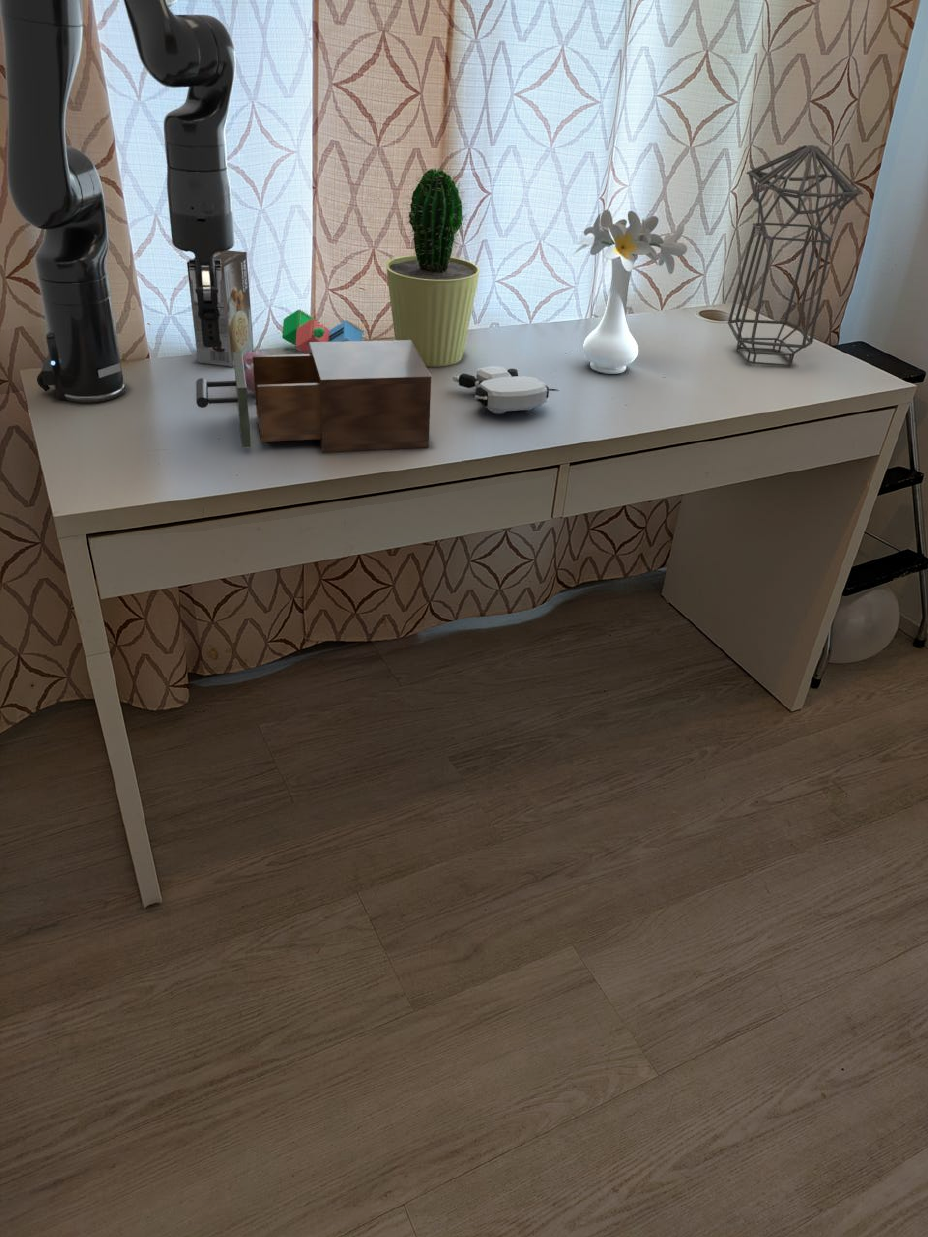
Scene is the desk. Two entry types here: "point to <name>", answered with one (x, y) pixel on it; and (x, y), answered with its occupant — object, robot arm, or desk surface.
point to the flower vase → (623, 283)
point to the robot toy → (505, 389)
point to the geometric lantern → (847, 192)
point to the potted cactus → (433, 275)
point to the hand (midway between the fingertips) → (211, 345)
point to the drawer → (274, 397)
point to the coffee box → (228, 312)
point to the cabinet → (372, 395)
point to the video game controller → (249, 369)
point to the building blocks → (316, 331)
